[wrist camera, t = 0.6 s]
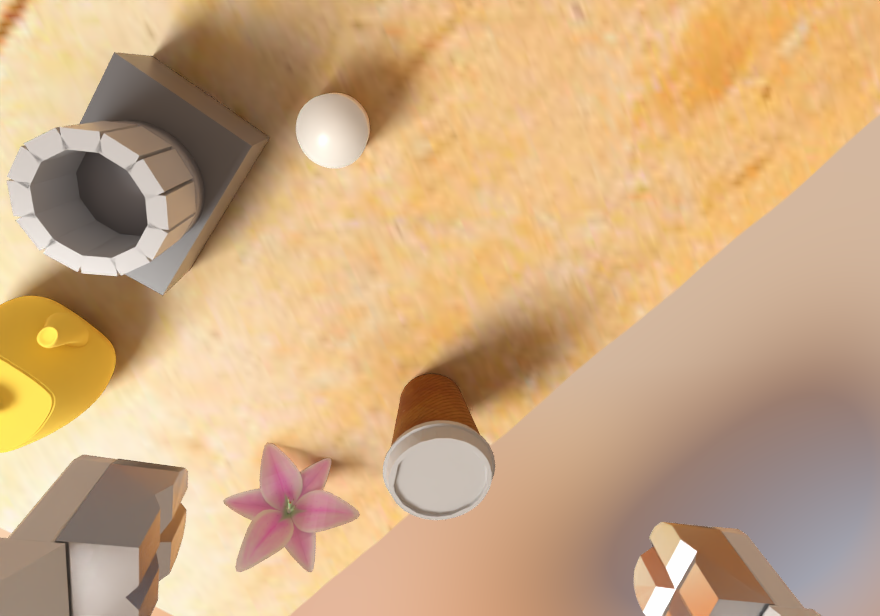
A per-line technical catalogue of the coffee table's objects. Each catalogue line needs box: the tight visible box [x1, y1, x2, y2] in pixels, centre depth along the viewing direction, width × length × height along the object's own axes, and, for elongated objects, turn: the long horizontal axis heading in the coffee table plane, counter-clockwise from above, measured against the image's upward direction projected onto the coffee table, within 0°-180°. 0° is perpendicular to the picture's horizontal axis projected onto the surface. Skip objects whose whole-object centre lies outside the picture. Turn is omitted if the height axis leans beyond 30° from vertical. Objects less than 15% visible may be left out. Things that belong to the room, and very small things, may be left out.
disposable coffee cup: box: [383, 374, 495, 520], centre depth 49 cm, size 10×10×12 cm
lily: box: [224, 443, 360, 572], centre depth 54 cm, size 12×12×10 cm
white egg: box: [296, 93, 370, 168], centre depth 41 cm, size 5×5×5 cm
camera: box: [7, 52, 269, 295], centre depth 38 cm, size 14×10×13 cm
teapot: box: [0, 296, 116, 453], centre depth 44 cm, size 18×11×11 cm, turn 132°
